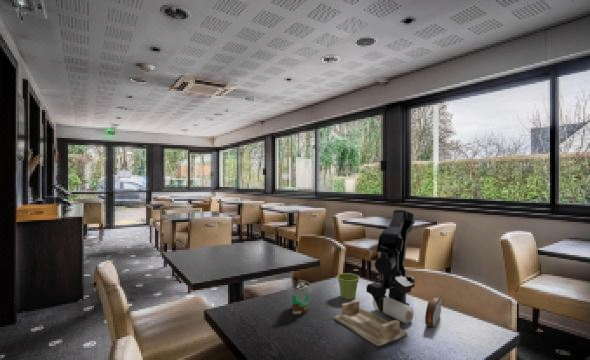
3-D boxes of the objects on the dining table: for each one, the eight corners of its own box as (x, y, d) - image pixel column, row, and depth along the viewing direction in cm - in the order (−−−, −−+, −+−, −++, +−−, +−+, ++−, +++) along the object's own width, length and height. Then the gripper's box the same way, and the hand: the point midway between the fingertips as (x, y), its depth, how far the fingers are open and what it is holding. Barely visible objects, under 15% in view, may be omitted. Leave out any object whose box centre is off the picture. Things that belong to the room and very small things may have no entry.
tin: (433, 313, 117) (433, 291, 117) (442, 315, 115) (443, 292, 115) (424, 329, 105) (424, 304, 105) (434, 331, 103) (434, 306, 103)
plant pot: (361, 301, 128) (361, 280, 128) (338, 301, 128) (338, 280, 128) (357, 293, 137) (357, 273, 137) (335, 292, 137) (335, 273, 137)
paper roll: (370, 307, 119) (375, 291, 120) (380, 310, 122) (385, 295, 123) (400, 322, 107) (405, 304, 108) (411, 325, 109) (416, 308, 111)
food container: (308, 318, 112) (308, 291, 112) (291, 317, 113) (291, 289, 113) (313, 305, 124) (313, 280, 124) (298, 303, 125) (298, 279, 125)
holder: (361, 311, 118) (361, 298, 118) (407, 335, 100) (407, 319, 100) (334, 319, 112) (334, 305, 112) (378, 346, 94) (378, 329, 94)
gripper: (389, 276, 102) (389, 324, 103) (425, 268, 112) (425, 311, 112) (365, 268, 112) (365, 311, 112) (400, 261, 122) (400, 301, 122)
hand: (390, 309), depth 114 cm, fingers open, 9 cm apart
